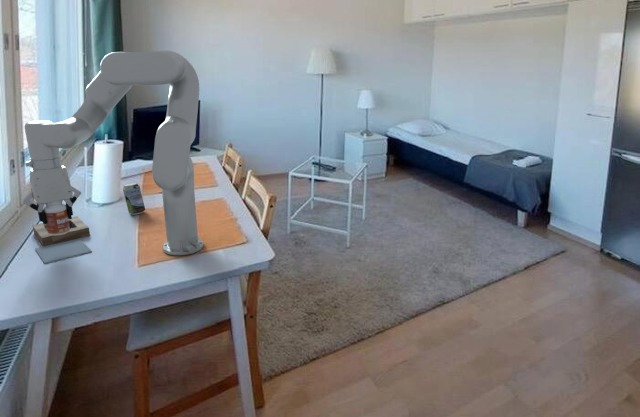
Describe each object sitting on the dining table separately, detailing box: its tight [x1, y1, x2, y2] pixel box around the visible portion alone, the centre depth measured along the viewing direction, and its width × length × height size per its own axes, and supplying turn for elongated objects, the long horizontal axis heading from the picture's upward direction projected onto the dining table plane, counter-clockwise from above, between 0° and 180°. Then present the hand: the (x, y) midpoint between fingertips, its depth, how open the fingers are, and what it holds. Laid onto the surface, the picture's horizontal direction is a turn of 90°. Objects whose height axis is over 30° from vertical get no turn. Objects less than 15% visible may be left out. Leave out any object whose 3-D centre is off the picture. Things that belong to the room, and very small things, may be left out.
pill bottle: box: [43, 200, 71, 236], centre depth 138 cm, size 6×6×11 cm
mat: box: [34, 238, 92, 265], centre depth 142 cm, size 13×13×1 cm
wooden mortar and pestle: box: [32, 215, 91, 247], centre depth 154 cm, size 19×14×16 cm
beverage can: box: [122, 182, 146, 216], centre depth 173 cm, size 6×7×12 cm
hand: (57, 220), depth 139 cm, fingers closed on pill bottle, 6 cm apart
